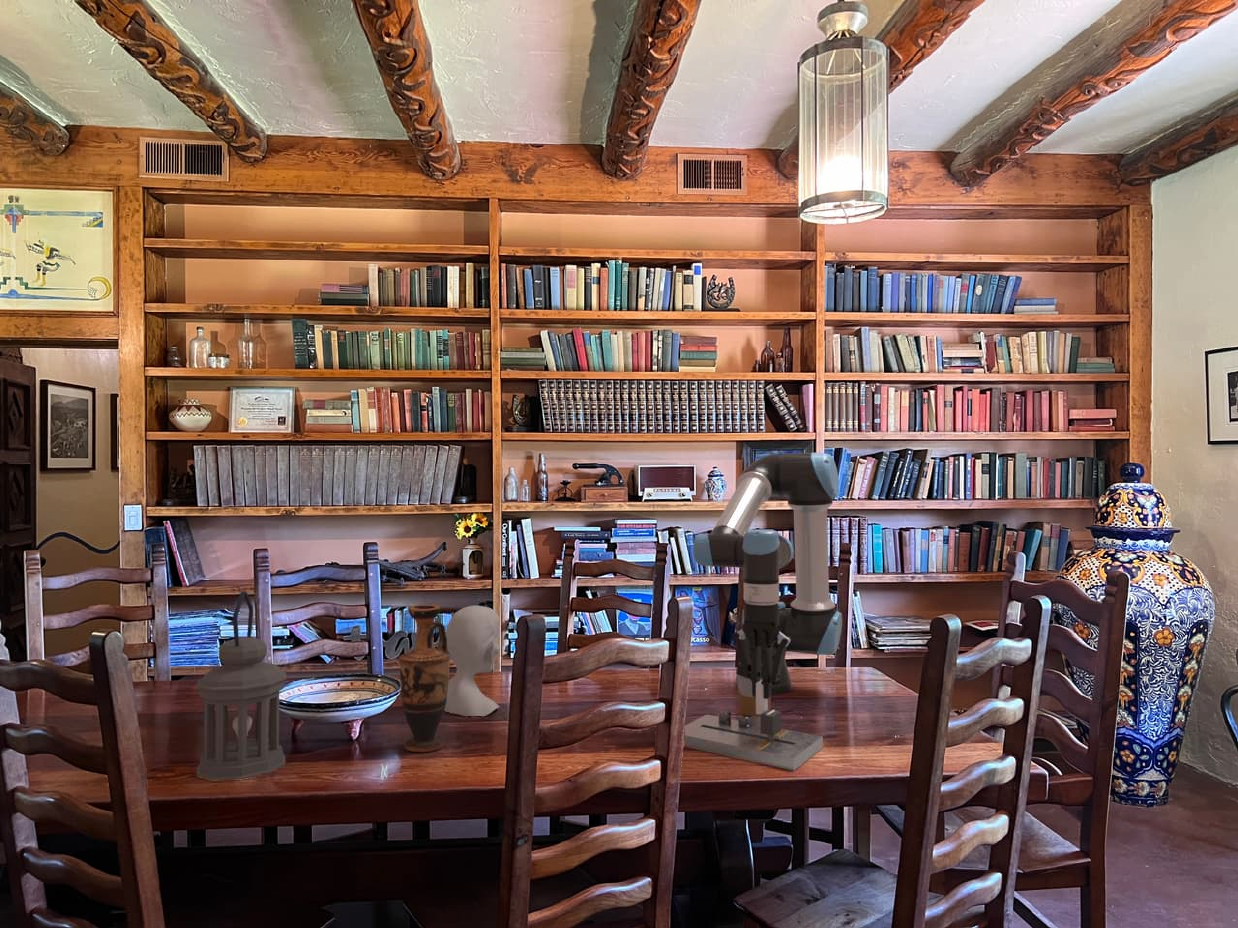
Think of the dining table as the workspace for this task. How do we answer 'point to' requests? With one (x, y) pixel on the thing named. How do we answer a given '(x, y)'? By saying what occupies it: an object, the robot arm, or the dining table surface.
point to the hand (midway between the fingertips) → (761, 712)
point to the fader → (770, 723)
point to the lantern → (241, 708)
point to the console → (750, 741)
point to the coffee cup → (747, 696)
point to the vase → (425, 681)
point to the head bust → (471, 658)
